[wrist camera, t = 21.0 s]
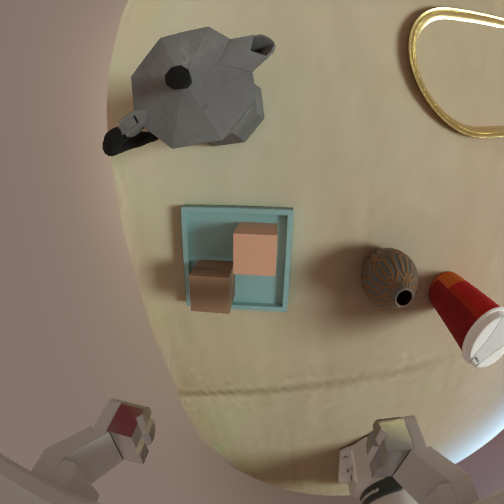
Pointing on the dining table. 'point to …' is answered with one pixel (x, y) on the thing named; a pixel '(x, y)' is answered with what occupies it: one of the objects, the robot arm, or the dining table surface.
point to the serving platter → (412, 42)
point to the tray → (221, 248)
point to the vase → (390, 279)
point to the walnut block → (212, 286)
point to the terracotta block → (255, 248)
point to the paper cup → (469, 318)
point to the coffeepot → (194, 92)
